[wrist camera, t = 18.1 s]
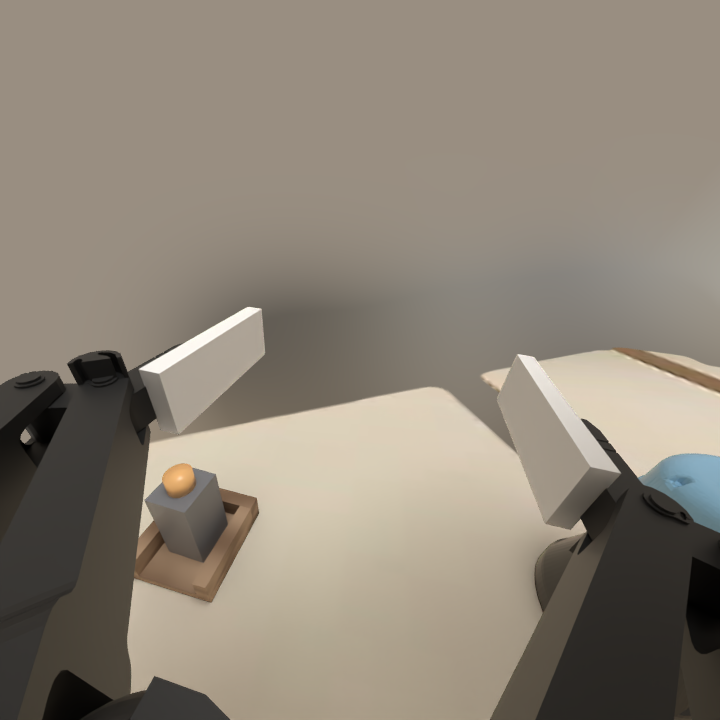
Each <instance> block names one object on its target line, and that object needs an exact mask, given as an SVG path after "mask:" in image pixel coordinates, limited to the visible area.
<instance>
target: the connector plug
mask: <svg viewBox="0 0 720 720" xmlns="http://www.w3.org/2000/svg"><path fill="white" fill-rule="evenodd" d="M162 481H163V482H162V483H161V484H160V485H159V486H158V487H157V488H156V489H155V490H154V491H153V492H152V493H151V494H150V495H149V496H148V497H147V498H146V499H145V500H144V501H145V503H146V505H147V507H148V509H149V511H150V513H151V515H152V517H153V519H154V521H155V523H156V525H157V527H158V529H159V531H160V533H161V535H162V537H163V540H164V542H165V544H166V546H167V548H168V550H169V552H172V553H175V554H178V555H181V556H184V557H187V558H190V559H193V560H196V561H199V562H202V563H204V562H205V560H206V558H207V557H208V555H209V554H210V552H211V551H212V549H213V547H214V546H215V544H216V543H217V541H218V540H219V538H220V536H221V535H222V533H223V532H224V530H225V529H226V527H227V525H228V522H227V518H226V514H225V510H224V506H223V502H222V498H221V494H220V490H219V486H218V482H217V478H216V474H213V473H209V472H206V471H202V470H199V469H195V468H192V467H191V466H190V465H189V464H178V465H175V466H173V467H171V468H169V469H168V470H167V471H166V472H165V473H164V475H163V477H162Z"/></svg>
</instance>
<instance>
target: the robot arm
mask: <svg viewBox="0 0 720 720" xmlns="http://www.w3.org/2000/svg"><path fill="white" fill-rule="evenodd" d="M264 354H265V347H264V335H263V323H262V312H261V309H258V308H252V307H247V308H245V309H244V310H242V311H240V312H238V313H236V314H235V315H233V316H231V317H229V318H228V319H226V320H224V321H222V322H221V323H219V324H217V325H215V326H213V327H212V328H210V329H208V330H207V331H205V332H203V333H201V334H199V335H198V336H196V337H194V338H192V339H191V340H189V341H187V342H185V343H182V344H179V345H176V346H173V347H172V348H170V349H168V350H166V351H165V352H164V353H161V354H159V355H157V356H156V358H152V359H150V360H148V361H147V362H145V363H143V364H142V365H139V366H138V367H136V368H134V369H132V370H130V371H129V372H127V369H126V367H125V364H124V362H123V359H122V356H121V354H120V353H118V352H116V351H96V352H90V353H87V354H84V355H81V356H78V357H76V358H74V359H72V360H71V361H70V362H69V363H68V366H69V368H70V370H71V372H72V374H73V376H74V378H75V380H76V382H77V384H63V382H62V380H61V379H60V376H59V375H58V373H56V372H53V371H38V372H36V371H35V372H29V373H25V374H21V375H20V376H18V377H15V378H12V379H10V380H8V381H6V382H5V383H3V384H2V385H0V720H230V719H229V718H228V717H227V716H226V715H225V714H224V713H223V712H222V711H221V710H220V709H219V708H218V707H217V706H216V705H215V704H214V703H213V702H212V701H211V700H210V699H209V698H208V697H207V696H206V695H205V694H202V693H200V692H197V691H194V690H191V689H189V688H186V687H183V686H180V685H178V684H175V683H172V682H169V681H166V680H164V679H161V678H158V677H155V676H154V678H153V680H152V682H151V683H150V685H149V687H148V689H147V690H145V691H140V692H136V693H132V694H130V691H131V664H130V659H129V654H128V649H127V633H128V624H129V616H130V607H131V598H132V590H133V581H134V572H135V563H136V555H137V546H138V537H139V528H140V520H141V511H142V502H143V494H144V485H145V476H146V467H147V459H148V450H149V441H150V428H149V426H148V424H149V423H151V422H152V421H153V420H155V419H157V422H158V424H159V427H160V430H162V431H166V432H171V433H175V434H180V433H181V432H182V431H183V430H184V429H185V428H186V427H187V426H188V425H189V424H190V423H191V422H193V421H194V420H195V419H196V418H197V417H198V416H199V415H200V414H201V413H202V412H203V411H204V410H205V409H206V408H208V407H209V406H210V405H211V404H212V403H213V402H214V401H215V400H216V399H217V398H218V397H219V396H220V395H221V394H222V393H224V392H225V391H226V390H227V389H228V388H229V387H230V386H231V385H232V384H233V383H234V382H235V381H236V380H237V379H238V378H240V377H241V376H242V375H243V374H244V373H245V372H246V371H247V370H248V369H249V368H250V367H252V366H253V365H254V364H255V363H256V362H257V361H258V360H259V359H260V358H261V357H262V356H263V355H264ZM497 401H498V404H499V407H500V409H501V412H502V414H503V417H504V420H505V422H506V425H507V427H508V430H509V432H510V435H511V437H512V440H513V443H514V445H515V448H516V450H517V453H518V455H519V458H520V460H521V463H522V466H523V468H524V471H525V473H526V476H527V478H528V481H529V484H530V486H531V489H532V491H533V494H534V496H535V499H536V501H537V504H538V507H539V509H540V512H541V514H542V517H543V519H544V522H545V524H549V525H553V526H557V527H561V528H565V529H570V530H571V529H572V528H573V526H574V525H575V524H576V523H577V522H578V521H579V520H580V519H581V520H582V522H583V524H584V526H585V528H586V530H587V532H586V533H583V534H580V535H576V536H573V537H570V538H564V539H560V540H557V541H555V542H554V543H552V544H551V545H550V546H548V548H547V549H546V550H545V551H544V552H543V553H542V554H541V556H540V557H539V559H538V561H537V564H536V570H535V582H536V588H537V593H538V597H539V600H540V603H541V606H542V608H543V611H544V613H543V615H542V617H541V619H540V621H539V623H538V625H537V627H536V629H535V631H534V633H533V635H532V637H531V639H530V641H529V643H528V645H527V647H526V649H525V651H524V653H523V655H522V657H521V659H520V661H519V663H518V665H517V667H516V669H515V671H514V673H513V675H512V677H511V679H510V681H509V683H508V685H507V687H506V689H505V691H504V693H503V695H502V697H501V699H500V701H499V703H498V705H497V707H496V709H495V711H494V713H493V715H492V717H491V719H490V720H720V457H718V456H713V455H706V454H679V455H674V456H670V457H668V458H665V459H664V460H662V461H661V462H659V463H658V464H657V465H656V466H655V467H654V468H653V469H651V470H650V471H649V472H648V473H647V474H646V475H643V476H641V477H639V478H637V476H636V475H635V474H634V473H633V471H632V470H631V469H630V468H629V466H628V465H627V464H626V463H625V461H624V460H623V459H622V458H621V456H620V455H619V454H618V453H616V450H615V449H614V448H613V446H612V445H611V444H609V443H608V442H609V441H608V440H607V439H606V438H605V436H604V435H603V434H602V433H601V431H600V430H599V429H597V428H596V427H595V426H594V425H592V424H591V423H590V422H589V421H587V420H585V419H580V418H579V417H578V415H577V414H576V413H575V411H574V410H573V409H572V407H571V406H570V405H569V403H568V402H567V401H566V399H565V398H564V397H563V395H562V394H561V393H560V391H559V390H558V389H557V387H556V386H555V385H554V383H553V382H552V381H551V379H550V378H549V377H548V375H547V374H546V373H545V371H544V370H543V369H542V367H541V366H540V365H539V363H538V362H537V361H536V359H535V358H534V357H531V356H525V355H519V354H517V355H516V358H515V360H514V362H513V364H512V366H511V369H510V371H509V373H508V375H507V377H506V380H505V382H504V384H503V386H502V388H501V391H500V393H499V395H498V397H497ZM24 429H26V430H27V431H28V433H29V434H30V436H31V439H29V441H28V442H27V443H25V444H24V443H23V442H22V441H21V440H20V436H21V434H22V432H23V431H24Z"/></svg>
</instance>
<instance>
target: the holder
mask: <svg viewBox="0 0 720 720" xmlns="http://www.w3.org/2000/svg"><path fill="white" fill-rule="evenodd" d="M219 490H220V494H221V498H222V502H223V506H224V510H225V514H226V518H227V522H228V525H227V527H226V529H225V530H224V532H223V533H222V535H221V536H220V538H219V540H218V541H217V543H216V544H215V546H214V547H213V549H212V551H211V552H210V554H209V555H208V557H207V558H206V560H205V562H204V563H202V562H199V561H196V560H193V559H190V558H187V557H184V556H181V555H178V554H175V553H172V552H169V550H168V548H167V546H166V544H165V542H164V540H163V537H162V535H161V533H160V531H159V529H158V527H157V525H156V523H155V521H153V522H152V523H151V524H150V526H149V527H148V528H147V529H146V530H145V531H144V533H143V534H142V535H141V536H140V537H139V538H138V546H137V555H136V563H135V572H134V578H136V579H139V580H142V581H145V582H148V583H152V584H155V585H158V586H161V587H164V588H167V589H170V590H174V591H177V592H180V593H183V594H186V595H189V596H192V597H195V598H199V599H202V600H205V601H208V602H212V600H213V598H214V596H215V595H216V593H217V591H218V589H219V587H220V585H221V583H222V581H223V580H224V578H225V576H226V574H227V572H228V570H229V568H230V566H231V565H232V563H233V561H234V559H235V557H236V555H237V553H238V551H239V550H240V548H241V546H242V544H243V542H244V540H245V538H246V536H247V535H248V533H249V531H250V529H251V527H252V525H253V523H254V521H255V520H256V518H257V516H258V514H259V510H258V503H257V498H255V497H251V496H247V495H244V494H240V493H236V492H232V491H228V490H225V489H221V488H219Z"/></svg>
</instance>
